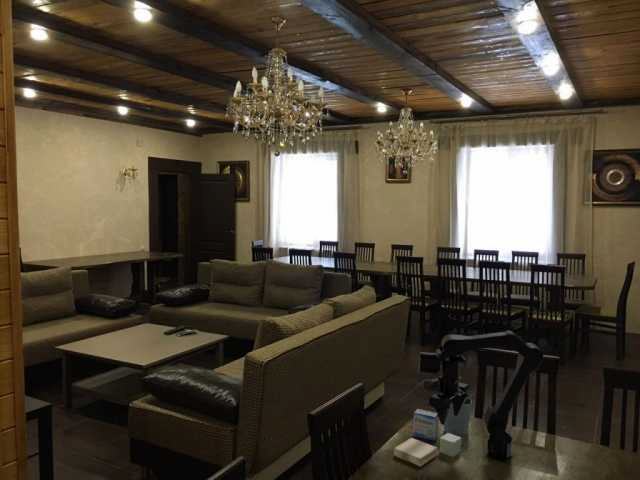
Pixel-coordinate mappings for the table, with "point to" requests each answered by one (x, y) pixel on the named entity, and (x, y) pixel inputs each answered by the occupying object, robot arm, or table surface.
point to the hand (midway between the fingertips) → (449, 419)
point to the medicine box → (425, 424)
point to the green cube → (450, 444)
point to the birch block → (415, 451)
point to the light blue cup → (458, 419)
